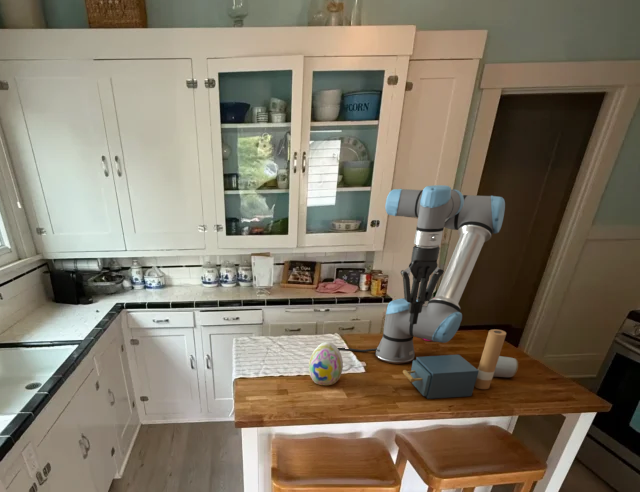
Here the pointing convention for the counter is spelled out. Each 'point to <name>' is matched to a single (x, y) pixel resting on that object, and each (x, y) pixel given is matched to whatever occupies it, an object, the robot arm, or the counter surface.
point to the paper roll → (489, 358)
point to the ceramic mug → (506, 367)
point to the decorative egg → (326, 364)
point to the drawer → (419, 377)
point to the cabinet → (449, 376)
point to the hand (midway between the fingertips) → (412, 322)
